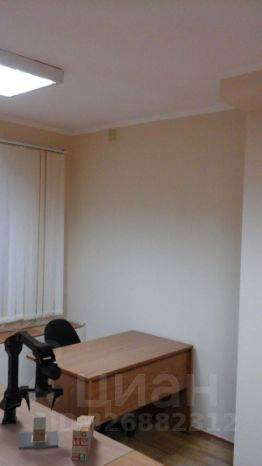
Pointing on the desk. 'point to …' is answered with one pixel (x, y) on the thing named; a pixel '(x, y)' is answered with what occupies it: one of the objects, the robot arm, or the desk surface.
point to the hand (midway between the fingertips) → (40, 410)
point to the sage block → (39, 421)
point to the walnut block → (38, 434)
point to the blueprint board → (28, 442)
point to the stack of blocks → (82, 438)
